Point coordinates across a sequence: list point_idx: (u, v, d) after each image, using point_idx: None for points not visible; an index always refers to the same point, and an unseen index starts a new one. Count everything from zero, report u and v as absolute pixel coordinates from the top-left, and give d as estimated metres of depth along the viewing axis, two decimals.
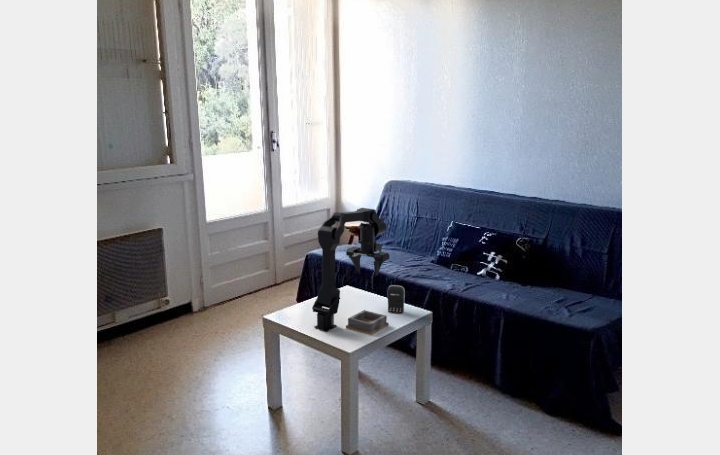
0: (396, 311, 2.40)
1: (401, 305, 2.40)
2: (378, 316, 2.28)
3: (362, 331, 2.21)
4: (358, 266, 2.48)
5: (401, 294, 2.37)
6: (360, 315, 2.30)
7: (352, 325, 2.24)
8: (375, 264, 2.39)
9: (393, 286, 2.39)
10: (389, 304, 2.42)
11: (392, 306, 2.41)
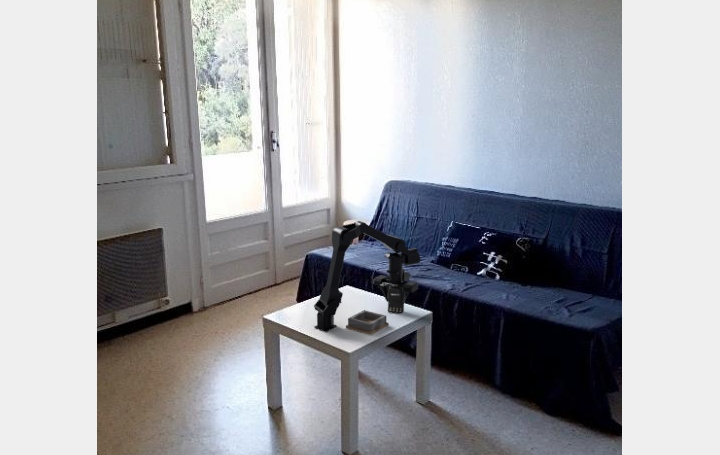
0: (396, 311, 2.40)
1: (401, 305, 2.40)
2: (378, 316, 2.28)
3: (362, 331, 2.21)
4: None
5: None
6: (360, 315, 2.30)
7: (352, 325, 2.24)
8: (402, 294, 2.34)
9: (393, 286, 2.39)
10: (389, 304, 2.41)
11: (392, 306, 2.41)
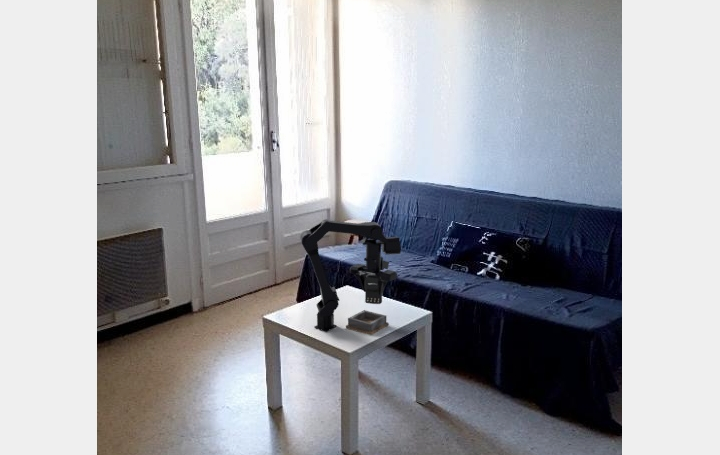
0: (374, 301, 2.27)
1: (379, 295, 2.27)
2: (378, 316, 2.28)
3: (362, 331, 2.21)
4: None
5: None
6: (360, 315, 2.30)
7: (352, 325, 2.24)
8: (380, 283, 2.21)
9: (371, 275, 2.26)
10: (366, 294, 2.28)
11: (370, 296, 2.28)
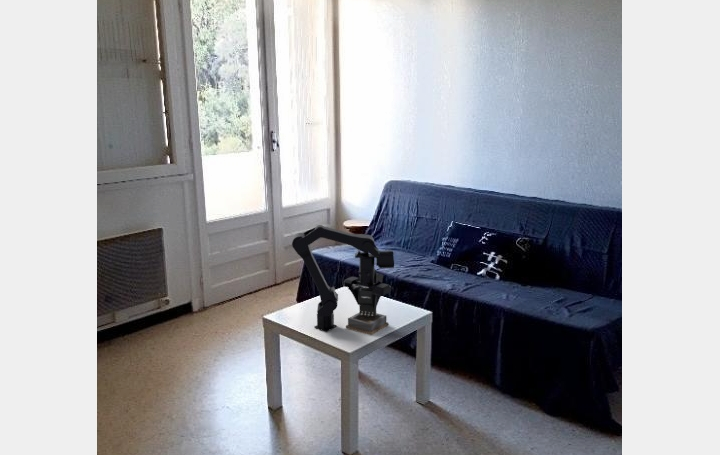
0: (368, 315, 2.25)
1: (373, 308, 2.25)
2: (378, 316, 2.28)
3: (362, 331, 2.21)
4: None
5: None
6: None
7: (352, 325, 2.24)
8: (373, 297, 2.19)
9: (365, 288, 2.24)
10: (361, 307, 2.26)
11: (364, 310, 2.26)
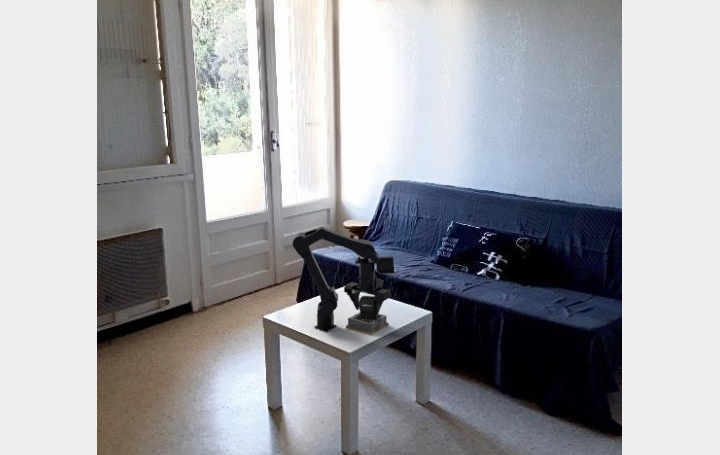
0: None
1: (374, 316, 2.25)
2: (378, 316, 2.28)
3: (362, 331, 2.21)
4: (357, 303, 2.28)
5: None
6: None
7: (352, 325, 2.24)
8: (375, 303, 2.19)
9: (365, 296, 2.24)
10: (361, 315, 2.27)
11: (364, 317, 2.26)
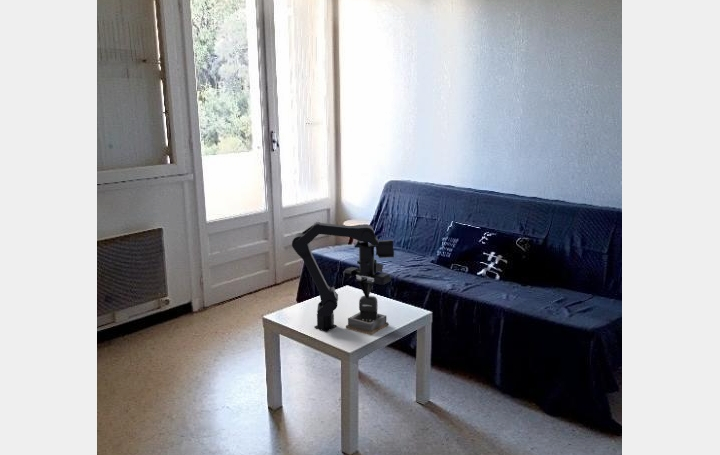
0: None
1: (374, 316, 2.25)
2: (378, 316, 2.28)
3: (362, 331, 2.21)
4: None
5: (374, 305, 2.22)
6: None
7: (352, 325, 2.24)
8: (366, 285, 2.20)
9: None
10: (361, 315, 2.27)
11: (364, 318, 2.26)
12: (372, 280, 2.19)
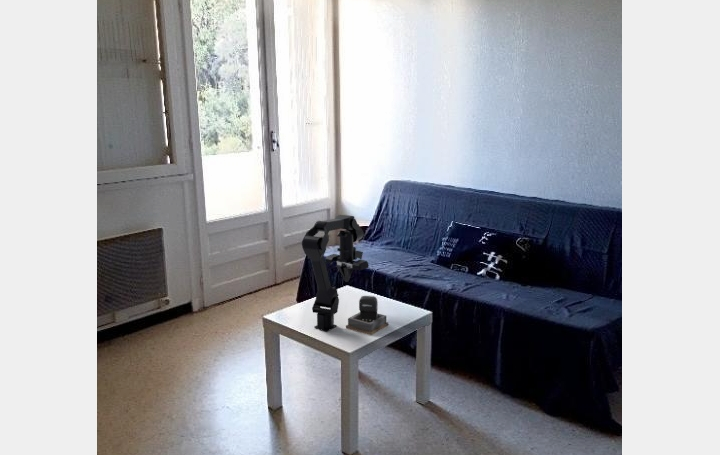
0: None
1: (374, 316, 2.25)
2: (378, 316, 2.28)
3: (362, 331, 2.21)
4: None
5: (374, 305, 2.22)
6: None
7: (352, 325, 2.24)
8: (345, 270, 2.35)
9: (365, 296, 2.24)
10: (361, 315, 2.27)
11: (364, 318, 2.26)
12: (351, 266, 2.35)
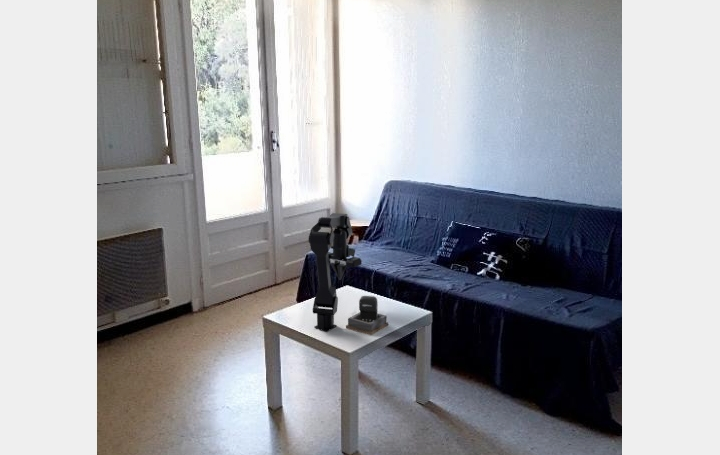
0: None
1: (374, 316, 2.25)
2: (378, 316, 2.28)
3: (362, 331, 2.21)
4: None
5: (374, 305, 2.22)
6: None
7: (352, 325, 2.24)
8: (338, 268, 2.40)
9: (365, 296, 2.24)
10: (361, 315, 2.27)
11: (364, 318, 2.26)
12: (344, 263, 2.39)
